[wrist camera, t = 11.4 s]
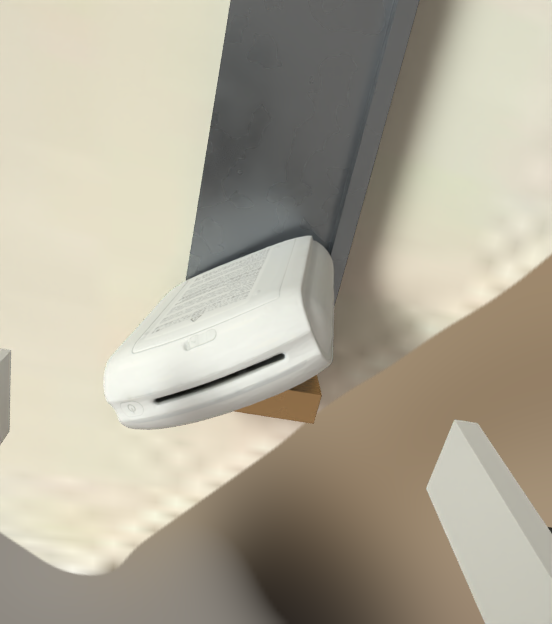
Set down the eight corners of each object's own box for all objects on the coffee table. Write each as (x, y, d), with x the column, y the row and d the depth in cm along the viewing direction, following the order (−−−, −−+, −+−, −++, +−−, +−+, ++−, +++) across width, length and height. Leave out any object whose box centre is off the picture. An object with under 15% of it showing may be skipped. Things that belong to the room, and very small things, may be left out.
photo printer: (191, 346, 34) (119, 469, 22) (160, 285, 32) (66, 384, 21) (344, 289, 31) (352, 395, 20) (317, 222, 30) (309, 293, 18)
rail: (275, -268, 24) (282, -364, 19) (462, -207, 25) (516, -283, 20) (174, 355, 36) (162, 400, 31) (304, 377, 37) (313, 423, 32)
